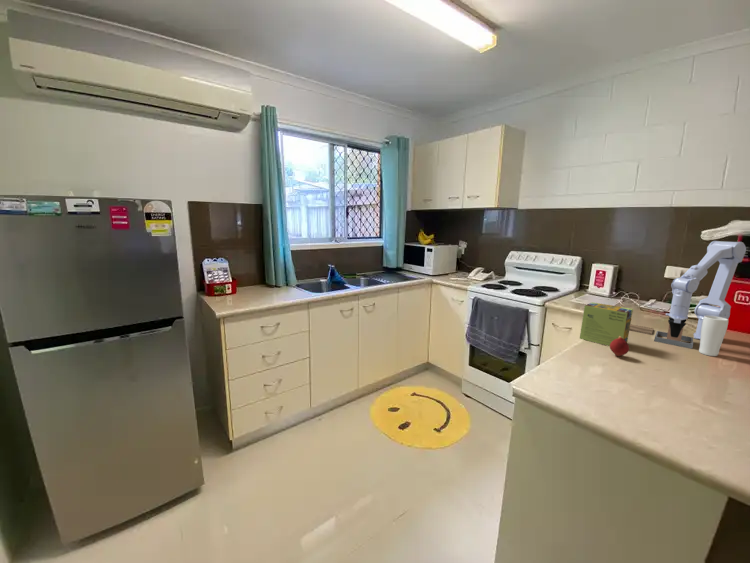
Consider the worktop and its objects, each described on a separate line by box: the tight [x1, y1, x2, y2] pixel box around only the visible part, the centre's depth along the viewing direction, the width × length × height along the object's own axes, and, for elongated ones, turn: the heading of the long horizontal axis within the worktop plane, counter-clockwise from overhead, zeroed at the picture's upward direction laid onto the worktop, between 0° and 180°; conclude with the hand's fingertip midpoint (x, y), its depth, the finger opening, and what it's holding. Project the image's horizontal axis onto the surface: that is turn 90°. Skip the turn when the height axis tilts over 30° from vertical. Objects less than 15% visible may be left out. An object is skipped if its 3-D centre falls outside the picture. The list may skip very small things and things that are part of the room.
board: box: [629, 323, 655, 336], centre depth 155 cm, size 10×10×1 cm
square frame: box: [653, 330, 694, 349], centre depth 140 cm, size 12×12×2 cm
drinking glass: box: [698, 316, 729, 357], centre depth 125 cm, size 7×7×15 cm
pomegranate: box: [609, 336, 630, 357], centre depth 121 cm, size 6×6×8 cm
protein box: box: [579, 302, 634, 347], centre depth 137 cm, size 10×15×16 cm
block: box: [666, 324, 684, 342], centre depth 139 cm, size 4×4×7 cm
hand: (674, 335), depth 139 cm, fingers closed on block, 4 cm apart
